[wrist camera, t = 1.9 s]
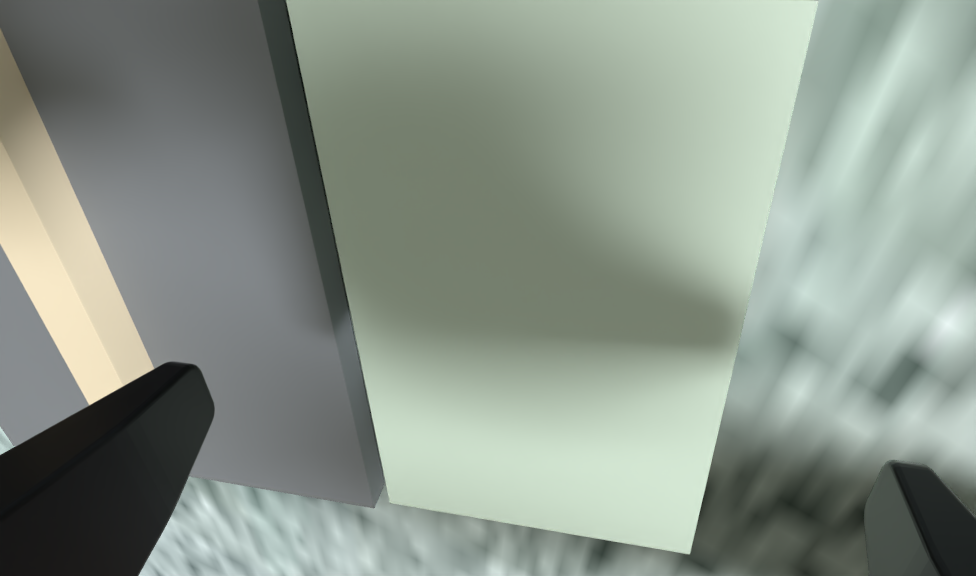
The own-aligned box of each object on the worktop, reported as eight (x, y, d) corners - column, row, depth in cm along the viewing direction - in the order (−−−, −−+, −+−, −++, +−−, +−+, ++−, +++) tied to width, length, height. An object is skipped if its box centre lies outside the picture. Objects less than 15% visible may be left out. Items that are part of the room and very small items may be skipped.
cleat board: (139, -694, 9) (10, -802, 7) (384, 483, 23) (361, 540, 22) (-583, -540, 12) (-797, -592, 10) (33, 425, 26) (-13, 471, 24)
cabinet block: (768, -90, 11) (818, 1, 7) (684, 382, 18) (684, 577, 14) (419, -87, 13) (285, -8, 8) (459, 354, 19) (394, 525, 15)
